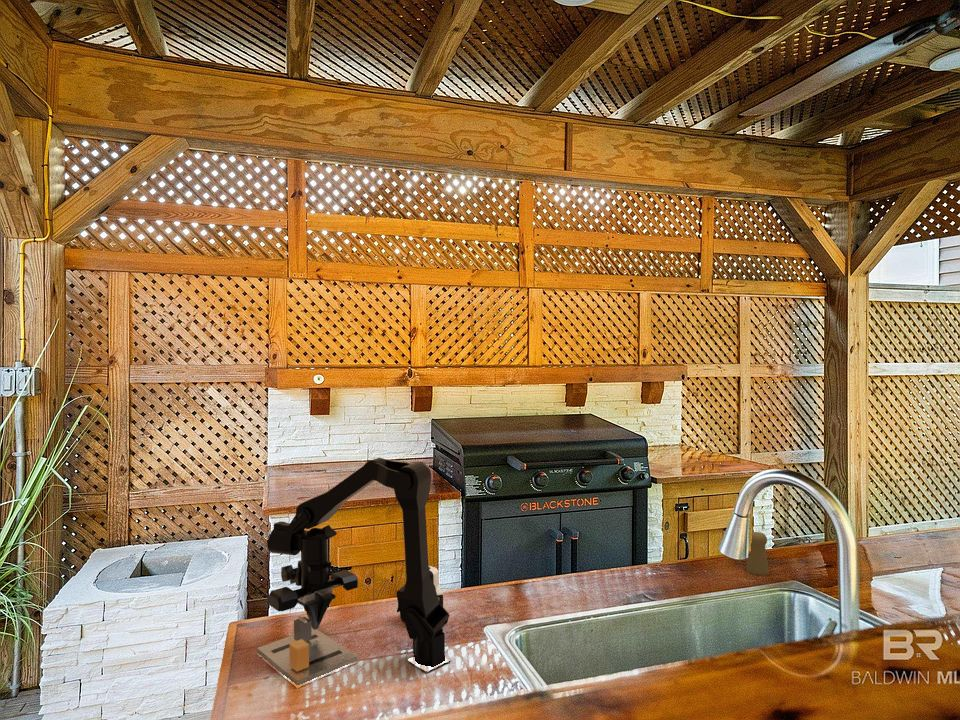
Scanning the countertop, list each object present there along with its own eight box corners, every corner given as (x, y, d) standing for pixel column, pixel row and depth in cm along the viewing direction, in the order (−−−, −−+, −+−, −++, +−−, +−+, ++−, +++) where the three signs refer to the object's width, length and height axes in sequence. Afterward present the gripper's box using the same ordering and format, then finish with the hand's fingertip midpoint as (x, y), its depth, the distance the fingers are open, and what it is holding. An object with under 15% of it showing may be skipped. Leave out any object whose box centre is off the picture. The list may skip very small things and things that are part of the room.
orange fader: (309, 666, 111) (308, 644, 111) (296, 671, 109) (296, 648, 109) (301, 661, 113) (301, 639, 113) (289, 666, 112) (289, 643, 112)
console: (357, 663, 116) (357, 655, 116) (297, 688, 107) (297, 680, 107) (314, 634, 129) (314, 627, 129) (257, 655, 120) (256, 647, 120)
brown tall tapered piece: (741, 569, 165) (740, 531, 166) (755, 566, 168) (755, 528, 168) (759, 576, 160) (758, 537, 160) (774, 572, 163) (773, 534, 163)
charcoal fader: (311, 639, 122) (311, 619, 122) (300, 643, 121) (300, 622, 121) (304, 635, 124) (304, 614, 125) (294, 639, 123) (293, 618, 123)
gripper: (334, 539, 137) (334, 605, 137) (256, 558, 124) (257, 630, 124) (359, 550, 129) (360, 619, 129) (279, 571, 116) (280, 648, 116)
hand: (315, 628), depth 125 cm, fingers closed
